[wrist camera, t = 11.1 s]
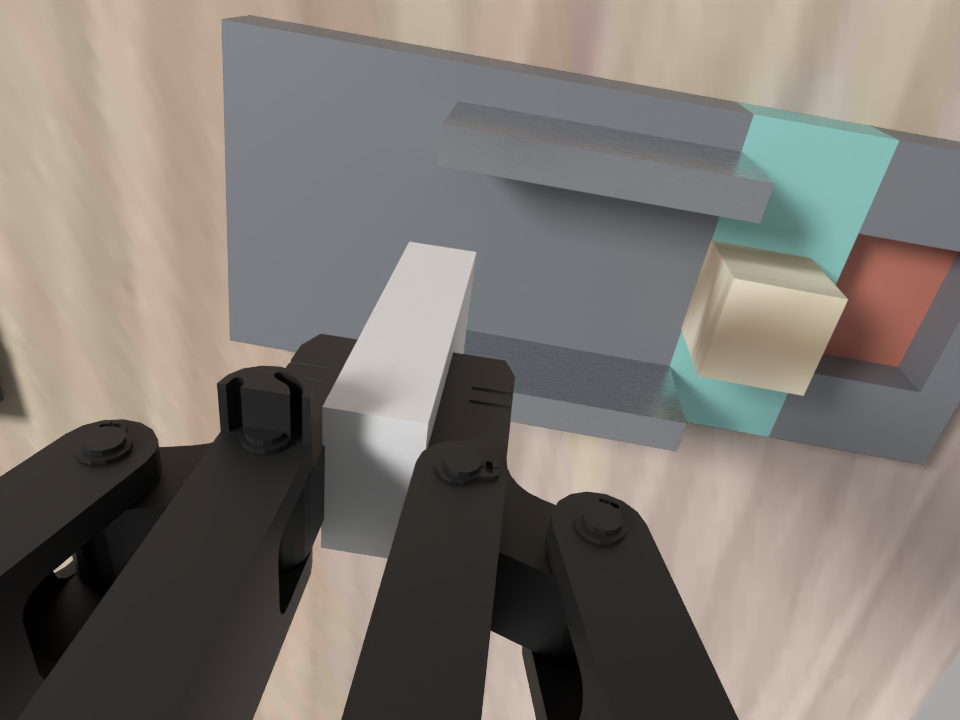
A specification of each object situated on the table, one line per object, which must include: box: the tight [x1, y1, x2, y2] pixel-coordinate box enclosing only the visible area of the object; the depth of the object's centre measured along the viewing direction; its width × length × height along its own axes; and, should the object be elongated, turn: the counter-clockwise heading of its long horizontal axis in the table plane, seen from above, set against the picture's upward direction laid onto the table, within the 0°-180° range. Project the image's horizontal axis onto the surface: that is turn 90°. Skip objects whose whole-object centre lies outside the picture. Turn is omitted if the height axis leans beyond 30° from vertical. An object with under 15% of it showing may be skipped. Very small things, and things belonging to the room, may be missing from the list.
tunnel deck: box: [222, 15, 960, 465], centre depth 31 cm, size 15×36×8 cm, turn 81°
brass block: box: [681, 240, 848, 396], centre depth 30 cm, size 4×4×4 cm
